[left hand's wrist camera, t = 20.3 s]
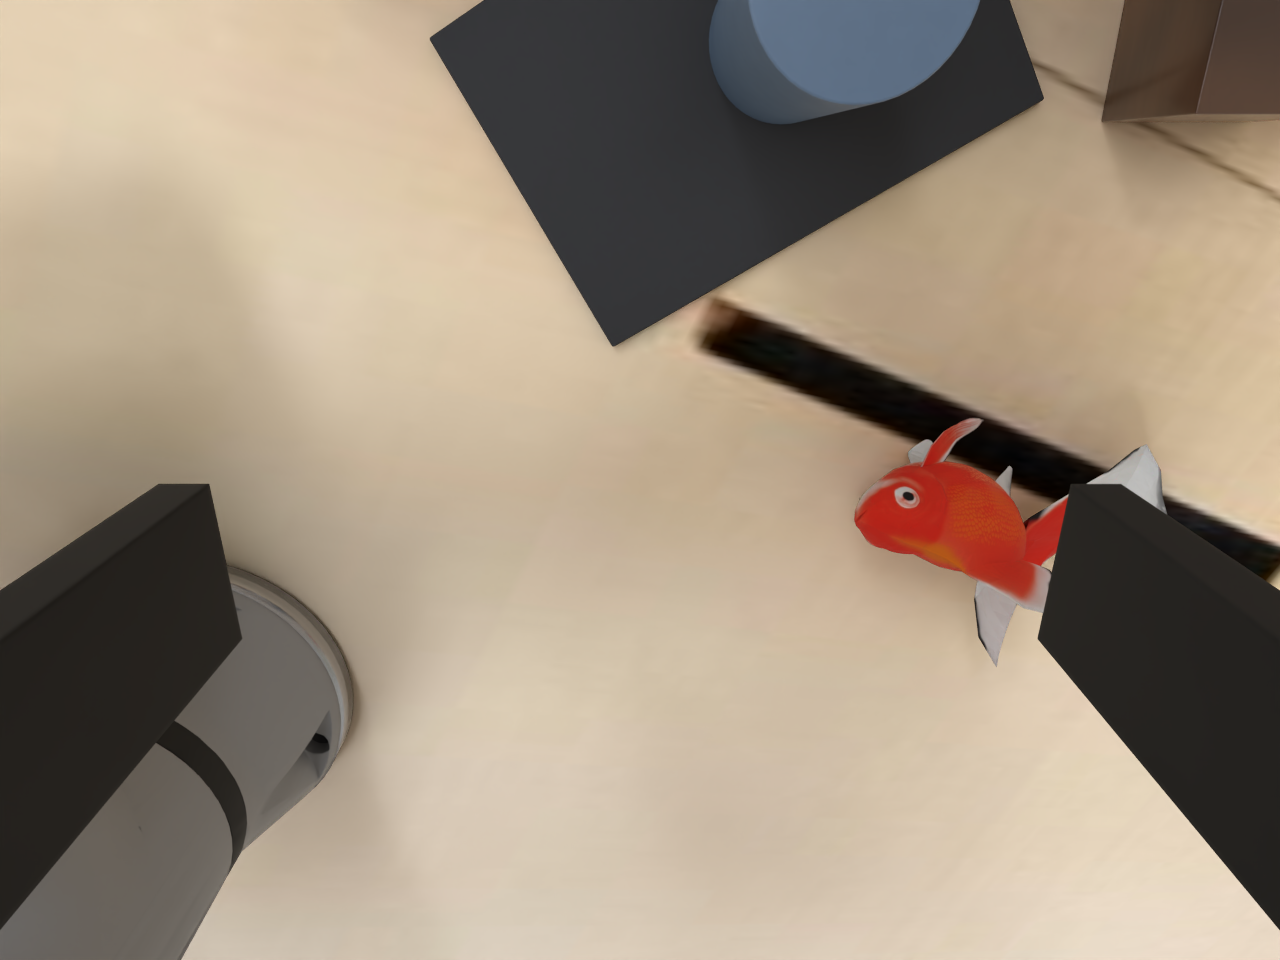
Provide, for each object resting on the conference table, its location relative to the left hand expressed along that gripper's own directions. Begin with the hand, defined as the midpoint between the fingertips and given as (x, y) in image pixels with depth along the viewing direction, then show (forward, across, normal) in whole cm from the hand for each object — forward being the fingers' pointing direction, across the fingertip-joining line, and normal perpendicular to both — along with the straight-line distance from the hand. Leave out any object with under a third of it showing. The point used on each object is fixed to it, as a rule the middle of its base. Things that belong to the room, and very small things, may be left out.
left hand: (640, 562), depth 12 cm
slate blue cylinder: (+24, -6, -10) cm, 27 cm away
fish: (+25, -17, +9) cm, 31 cm away
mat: (+25, -4, -9) cm, 27 cm away
